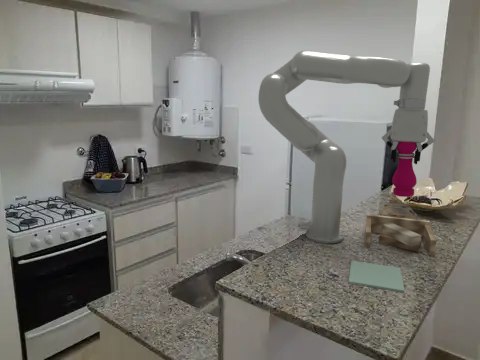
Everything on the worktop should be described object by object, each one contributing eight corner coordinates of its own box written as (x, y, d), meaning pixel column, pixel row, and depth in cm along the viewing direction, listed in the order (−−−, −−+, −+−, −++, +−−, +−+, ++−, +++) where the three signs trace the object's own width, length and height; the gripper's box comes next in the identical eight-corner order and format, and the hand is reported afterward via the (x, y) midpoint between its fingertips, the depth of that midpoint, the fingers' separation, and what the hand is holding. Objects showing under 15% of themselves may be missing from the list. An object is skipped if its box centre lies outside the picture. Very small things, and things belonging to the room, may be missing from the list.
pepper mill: (387, 194, 120) (390, 133, 116) (396, 190, 125) (400, 131, 121) (410, 198, 115) (414, 134, 111) (419, 194, 120) (423, 132, 116)
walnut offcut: (378, 244, 121) (379, 235, 120) (381, 240, 124) (382, 231, 123) (418, 253, 114) (419, 243, 113) (420, 248, 117) (421, 240, 117)
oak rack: (364, 246, 117) (366, 228, 116) (365, 230, 132) (366, 214, 131) (434, 256, 111) (437, 237, 110) (426, 237, 126) (429, 220, 124)
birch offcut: (381, 232, 122) (382, 224, 122) (390, 231, 124) (391, 222, 123) (410, 246, 112) (411, 237, 111) (420, 244, 113) (421, 235, 112)
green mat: (348, 283, 94) (348, 281, 94) (351, 262, 106) (351, 260, 106) (404, 292, 90) (404, 290, 90) (400, 269, 102) (400, 267, 102)
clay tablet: (383, 208, 160) (376, 220, 142) (384, 197, 159) (378, 208, 141) (418, 214, 153) (416, 228, 136) (420, 203, 152) (418, 215, 135)
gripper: (382, 104, 113) (376, 162, 117) (445, 106, 107) (436, 167, 111) (381, 104, 120) (375, 159, 124) (440, 105, 114) (432, 163, 118)
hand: (404, 162), depth 118 cm, fingers closed on pepper mill, 5 cm apart
